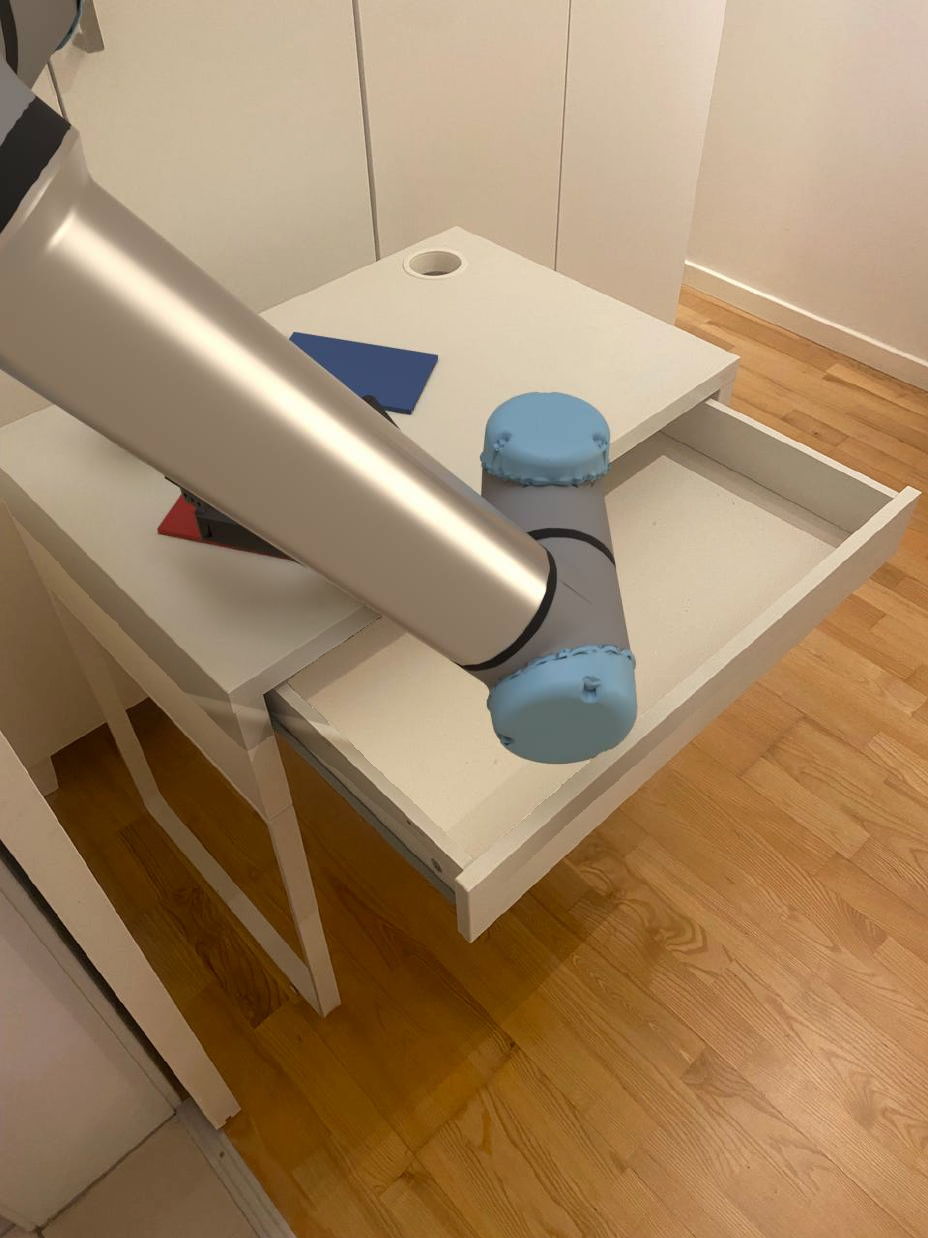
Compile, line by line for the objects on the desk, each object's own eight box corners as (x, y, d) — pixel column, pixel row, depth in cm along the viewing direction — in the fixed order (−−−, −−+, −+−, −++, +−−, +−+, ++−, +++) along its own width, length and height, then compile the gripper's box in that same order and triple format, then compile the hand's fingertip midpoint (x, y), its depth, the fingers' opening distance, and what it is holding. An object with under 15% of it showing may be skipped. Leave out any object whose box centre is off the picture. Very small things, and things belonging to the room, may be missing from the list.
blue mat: (258, 388, 96) (257, 383, 96) (294, 335, 103) (293, 331, 102) (411, 414, 94) (410, 410, 93) (438, 358, 100) (438, 354, 100)
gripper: (313, 670, 67) (117, 535, 76) (517, 494, 80) (330, 396, 89) (302, 597, 62) (92, 461, 70) (523, 421, 75) (323, 324, 83)
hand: (225, 425), depth 80 cm, fingers open, 12 cm apart
